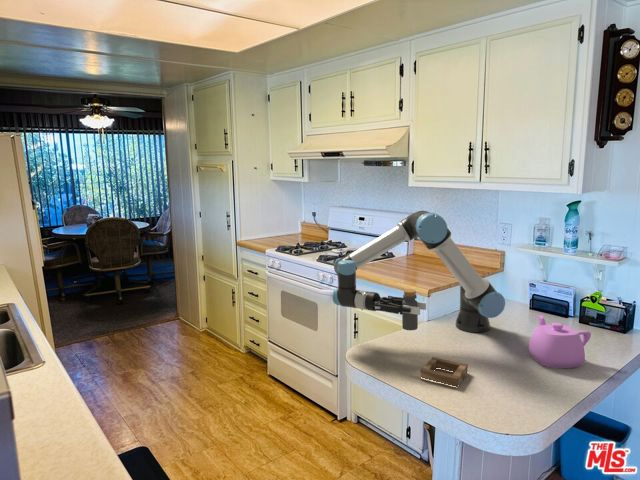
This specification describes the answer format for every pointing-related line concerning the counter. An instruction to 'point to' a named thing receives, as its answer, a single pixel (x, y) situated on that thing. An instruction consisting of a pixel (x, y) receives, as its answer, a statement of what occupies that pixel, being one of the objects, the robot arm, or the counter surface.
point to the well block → (445, 378)
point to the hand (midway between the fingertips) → (422, 308)
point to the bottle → (409, 319)
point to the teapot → (558, 345)
